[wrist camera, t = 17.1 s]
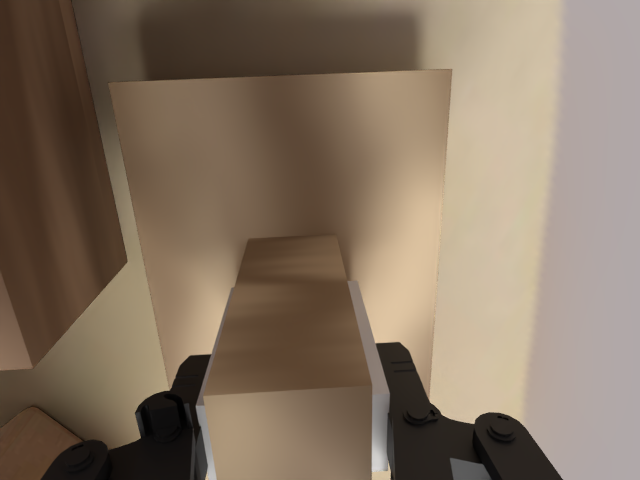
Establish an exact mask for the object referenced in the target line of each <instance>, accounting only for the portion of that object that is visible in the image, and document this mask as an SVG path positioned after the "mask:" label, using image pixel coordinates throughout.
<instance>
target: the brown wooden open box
mask: <svg viewBox="0 0 640 480" xmlns="http://www.w3.org/2000/svg"><path fill="white" fill-rule="evenodd" d="M126 263H127V257H126V253H125V248H124V243H123V239H122V234H121V229H120V225H119V220H118V215H117V211H116V206H115V202H114V197H113V192H112V188H111V183H110V178H109V174H108V169H107V164H106V160H105V155H104V151H103V146H102V141H101V137H100V132H99V127H98V123H97V118H96V113H95V109H94V104H93V100H92V95H91V90H90V86H89V81H88V76H87V72H86V67H85V62H84V58H83V53H82V49H81V44H80V39H79V35H78V30H77V25H76V21H75V16H74V11H73V7H72V2H71V0H0V371H1V370H18V369H33V368H34V367H35V366H36V365H37V364H38V362H39V361H40V360H41V359H42V358H43V357H44V356H45V355H46V353H47V352H48V351H49V350H50V349H51V348H52V347H53V346H54V344H55V343H56V342H57V341H58V340H59V339H60V338H61V336H62V335H63V334H64V333H65V332H66V331H67V330H68V329H69V327H70V326H71V325H72V324H73V323H74V322H75V321H76V320H77V318H78V317H79V316H80V315H81V314H82V313H83V312H84V310H85V309H86V308H87V307H88V306H89V305H90V304H91V303H92V301H93V300H94V299H95V298H96V297H97V296H98V295H99V294H100V292H101V291H102V290H103V289H104V288H105V287H106V286H107V284H108V283H109V282H110V281H111V280H112V279H113V278H114V277H115V275H116V274H117V273H118V272H119V271H120V270H121V269H122V268H123V266H124V265H125V264H126Z"/></svg>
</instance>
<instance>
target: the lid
mask: <svg viewBox="0 0 640 480" xmlns="http://www.w3.org/2000/svg"><path fill="white" fill-rule="evenodd" d="M451 79H452V69H436V70H410V71H384V72H358V73H333V74H307V75H281V76H255V77H229V78H203V79H178V80H152V81H126V82H108V85H109V90H110V95H111V100H112V105H113V110H114V115H115V120H116V125H117V130H118V135H119V140H120V145H121V150H122V155H123V160H124V165H125V170H126V175H127V180H128V185H129V190H130V195H131V200H132V205H133V210H134V215H135V220H136V225H137V230H138V235H139V240H140V245H141V250H142V255H143V260H144V265H145V270H146V275H147V280H148V285H149V290H150V295H151V299H152V304H153V309H154V314H155V319H156V324H157V329H158V334H159V339H160V344H161V349H162V354H163V359H164V364H165V369H166V374H167V379H168V384H169V389H171V388H172V384H173V381H174V379H175V376H176V374H177V371H178V369H179V366H180V365H181V364H182V363H183V362H184V361H185V360H186V359H187V358H188V357H189V356H190V355H204V354H212V350H213V347H214V344H215V340H216V337H217V334H218V331H219V327H220V324H221V321H222V317H223V314H224V311H225V307H226V304H227V301H228V297H229V294H230V291H231V288H232V287H234V290H233V294H232V297H231V300H230V304H229V307H228V311H227V314H226V318H225V321H224V325H223V328H222V332H221V335H220V338H219V342H218V345H217V349H216V352H215V356H214V359H213V363H212V366H211V370H210V373H209V376H208V380H207V383H206V387H205V390H204V394H203V400H204V406H205V412H206V418H207V424H208V430H209V436H210V442H211V448H212V454H213V460H214V466H215V472H216V478H217V480H372V381H371V377H370V373H369V369H368V365H367V361H366V356H365V352H364V348H363V344H362V340H361V336H360V331H359V327H358V323H357V319H356V315H355V311H354V306H353V302H352V298H351V294H350V290H349V286H348V281H358V284H359V288H360V291H361V295H362V298H363V302H364V305H365V309H366V312H367V316H368V319H369V323H370V326H371V330H372V333H373V337H374V340H375V343H388V342H400V343H401V344H402V345H403V346H405V347H406V348H407V349H408V350H409V352H410V354H411V357H412V359H413V363H414V364H415V367H416V370H417V372H418V374H419V377H420V379H421V382H422V384H423V387H424V389H425V392H426V394H427V397H428V399H429V394H430V380H431V365H432V351H433V337H434V322H435V308H436V294H437V279H438V265H439V251H440V236H441V222H442V208H443V193H444V179H445V165H446V150H447V136H448V122H449V107H450V93H451Z"/></svg>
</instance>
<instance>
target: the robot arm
mask: <svg viewBox="0 0 640 480" xmlns="http://www.w3.org/2000/svg"><path fill="white" fill-rule="evenodd" d="M348 286H349V290H350V294H351V298H352V302H353V306H354V311H355V315H356V319H357V323H358V327H359V331H360V336H361V340H362V344H363V348H364V352H365V356H366V361H367V365H368V369H369V373H370V377H371V381H372V472H377V471H388V461H389V465H390V469H391V480H563V479H562V478H561V476H560V475H559V474H558V472H557V471H556V470H555V468H554V467H553V465H552V464H551V463H550V461H549V460H548V458H547V457H546V456H545V454H544V453H543V451H542V450H541V449H540V447H539V446H538V445H537V443H536V442H535V440H534V439H533V438H532V436H531V435H530V434H529V432H528V431H527V429H526V428H525V427H524V426H523V425H522V424H521V423H520V422H519V421H517V420H516V419H514V418H512V417H510V416H508V415H505V414H501V413H490V412H489V413H486V414H482V415H480V416H479V417H478V418H477V419H476V420H475V424H470V423H464V422H459V421H455V420H451V419H449V418H447V417H444V416H443V415H441V413H440V411H439V410H438V409H437V408H436V407H435V406H434V405H433V404H431V403H430V402H429V399H428V397H427V394H426V392H425V389H424V387H423V384H422V382H421V379H420V377H419V374H418V372H417V370H416V367H415V364H414V363H413V359H412V357H411V354H410V352H409V350H408V349H407V348H406V347H405V346H403V345H402V344H401V343H400V342H388V343H375V340H374V337H373V333H372V330H371V326H370V323H369V319H368V316H367V312H366V309H365V305H364V302H363V298H362V295H361V291H360V288H359V284H358V281H348ZM233 290H234V287H232V288H231V291H230V294H229V297H228V301H227V304H226V307H225V311H224V314H223V317H222V321H221V324H220V327H219V331H218V334H217V337H216V340H215V344H214V347H213V350H212V354H204V355H190V356H189V357H188V358H187V359H186V360H185V361H184V362H183V363H182V364H181V365H180V366H179V369H178V371H177V374H176V376H175V379H174V381H173V384H172V388H171V389H170V391H163V392H160V393H156V394H154V395H152V396H150V397H148V398H147V399H145V400H144V401H143V402H142V403H141V404H140V405H139V406H138V408H137V410H136V412H135V415H136V419H137V423H138V427H139V431H140V436H141V438H140V439H139V440H137V441H135V442H132V443H130V444H127V445H124V446H121V447H118V448H115V449H111V450H108V448H107V445H106V444H104V443H103V442H102V441H98V440H88V441H82V442H79V443H77V444H75V445H72V446H70V447H69V448H67V449H66V450H64V451H63V452H61V453H60V454H59V455H58V456H57V458H56V459H55V460H54V461H53V462H52V464H51V465H50V466H49V468H48V469H47V471H46V472H45V474H44V475H43V476H42V478H41V479H40V480H205V477H206V473H207V472H208V478H209V480H217V478H216V472H215V466H214V460H213V454H212V448H211V442H210V436H209V430H208V424H207V418H206V412H205V406H204V400H203V394H204V390H205V387H206V383H207V380H208V376H209V373H210V370H211V366H212V363H213V359H214V356H215V352H216V349H217V345H218V342H219V338H220V335H221V332H222V328H223V325H224V321H225V318H226V314H227V311H228V307H229V304H230V300H231V297H232V294H233Z"/></svg>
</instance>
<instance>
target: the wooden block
mask: <svg viewBox="0 0 640 480" xmlns="http://www.w3.org/2000/svg"><path fill="white" fill-rule="evenodd" d="M79 442H82V440H81V439H79V438H78V437H77V436H75V435H74V434H73V433H71V432H70V431H68V430H67V429H66V428H64V427H63V426H62V425H60V424H59V423H57V422H56V421H55V420H53V419H52V418H51V417H49V416H48V415H47V414H45V413H44V412H42V411H41V410H40V409H38V408H35V407H30V408H27V409H25V410H23V411H22V412H20V413H19V414H18V415H17V416H15V417H14V418H13V419H12V420H10V421H9V422H8V423H6V424H5V425H4V426H3V427H1V428H0V480H40V479H41V478H42V476H43V475H44V474H45V472H46V471H47V469H48V468H49V466H50V465H51V464H52V462H53V461H54V460H55V459H56V458H57V456H58V455H59V454H60V453H61V452H63V451H64V450H66V449H67V448H69V447H70V446H72V445H75V444H77V443H79Z"/></svg>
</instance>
